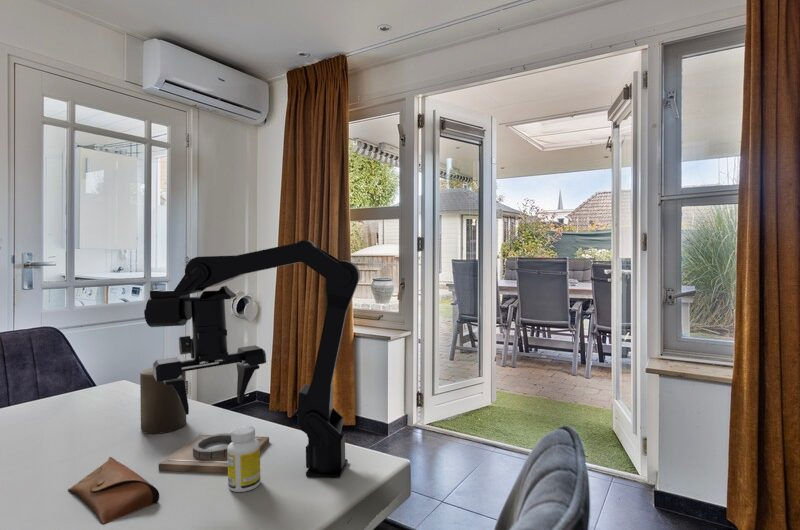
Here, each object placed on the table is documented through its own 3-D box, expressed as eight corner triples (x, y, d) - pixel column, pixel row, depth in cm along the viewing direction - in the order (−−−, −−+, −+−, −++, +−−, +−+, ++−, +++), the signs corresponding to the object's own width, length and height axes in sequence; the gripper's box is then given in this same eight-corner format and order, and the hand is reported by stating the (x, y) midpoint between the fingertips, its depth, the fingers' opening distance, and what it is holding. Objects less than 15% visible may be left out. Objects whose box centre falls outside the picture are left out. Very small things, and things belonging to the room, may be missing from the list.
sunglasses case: (62, 489, 79) (83, 450, 82) (101, 495, 84) (121, 457, 87) (103, 526, 68) (126, 479, 71) (146, 530, 73) (166, 486, 76)
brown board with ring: (269, 442, 98) (268, 430, 98) (238, 473, 84) (238, 459, 84) (199, 439, 100) (199, 427, 100) (158, 469, 86) (158, 455, 86)
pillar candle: (173, 434, 104) (172, 368, 103) (131, 434, 104) (130, 368, 104) (194, 419, 113) (193, 359, 113) (155, 419, 113) (154, 359, 113)
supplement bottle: (265, 478, 82) (264, 424, 82) (252, 493, 77) (251, 436, 77) (236, 477, 83) (235, 423, 83) (222, 492, 78) (220, 435, 77)
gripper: (248, 314, 96) (252, 388, 96) (147, 326, 85) (152, 408, 86) (264, 319, 87) (269, 401, 87) (154, 333, 76) (159, 425, 77)
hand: (214, 408), depth 84 cm, fingers open, 9 cm apart
